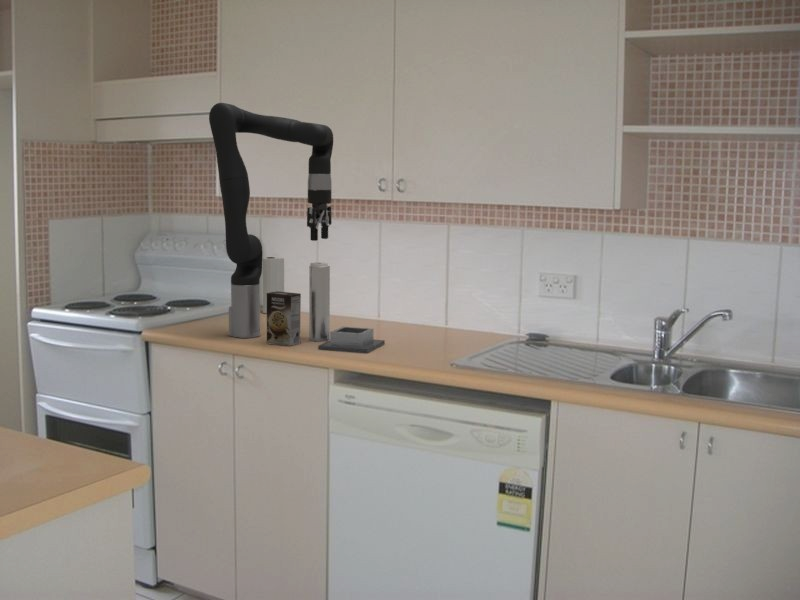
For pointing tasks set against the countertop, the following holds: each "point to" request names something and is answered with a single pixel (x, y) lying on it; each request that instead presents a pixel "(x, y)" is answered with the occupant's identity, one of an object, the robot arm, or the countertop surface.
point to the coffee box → (283, 318)
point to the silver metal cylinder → (319, 301)
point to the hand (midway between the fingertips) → (319, 239)
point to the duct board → (352, 340)
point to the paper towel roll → (272, 277)
